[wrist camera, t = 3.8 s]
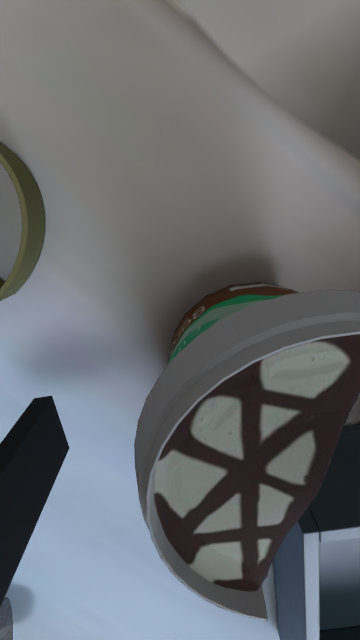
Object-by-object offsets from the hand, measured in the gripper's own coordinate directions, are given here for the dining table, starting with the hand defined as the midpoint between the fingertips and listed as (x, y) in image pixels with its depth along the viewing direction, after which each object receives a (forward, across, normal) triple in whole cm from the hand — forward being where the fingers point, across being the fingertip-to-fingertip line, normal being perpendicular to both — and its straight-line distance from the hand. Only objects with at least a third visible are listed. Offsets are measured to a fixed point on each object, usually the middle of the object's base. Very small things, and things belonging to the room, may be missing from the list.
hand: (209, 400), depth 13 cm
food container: (+6, 0, 0) cm, 6 cm away
